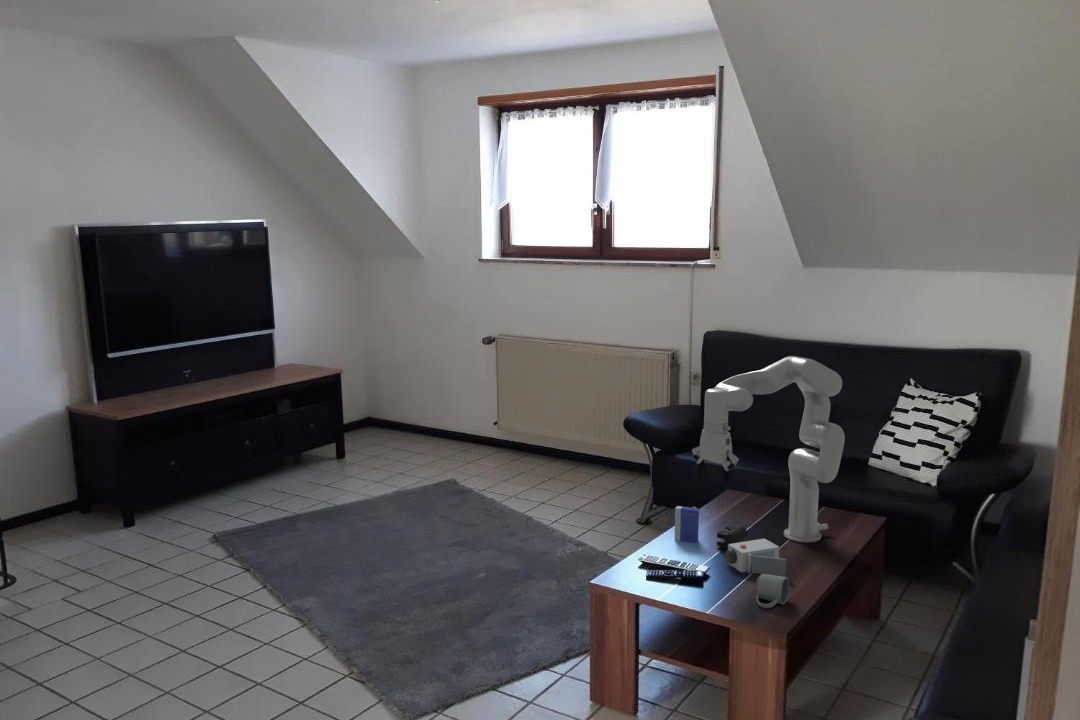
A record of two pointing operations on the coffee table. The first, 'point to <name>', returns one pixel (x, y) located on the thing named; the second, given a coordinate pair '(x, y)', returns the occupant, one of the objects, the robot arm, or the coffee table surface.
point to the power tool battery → (731, 537)
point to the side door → (766, 565)
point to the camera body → (749, 552)
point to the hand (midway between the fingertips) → (714, 478)
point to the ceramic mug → (772, 589)
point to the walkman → (686, 524)
